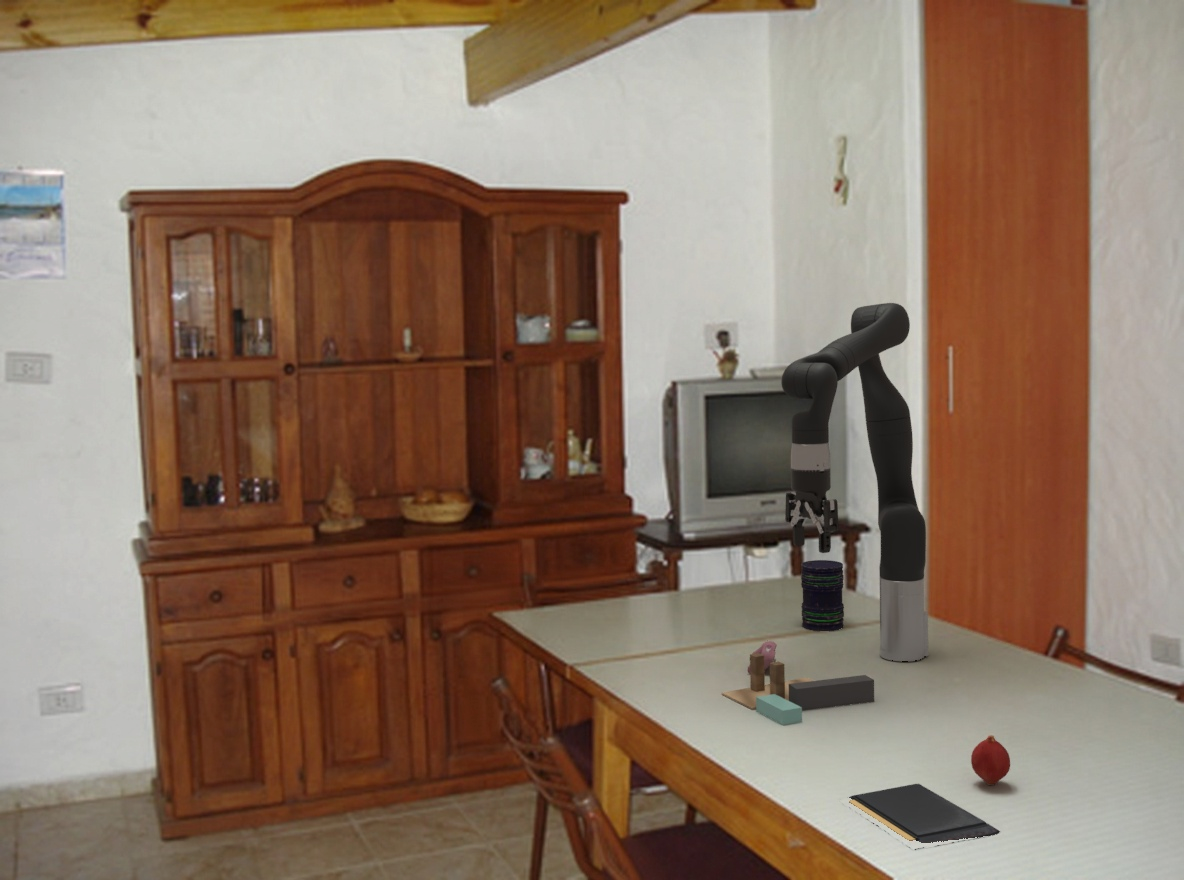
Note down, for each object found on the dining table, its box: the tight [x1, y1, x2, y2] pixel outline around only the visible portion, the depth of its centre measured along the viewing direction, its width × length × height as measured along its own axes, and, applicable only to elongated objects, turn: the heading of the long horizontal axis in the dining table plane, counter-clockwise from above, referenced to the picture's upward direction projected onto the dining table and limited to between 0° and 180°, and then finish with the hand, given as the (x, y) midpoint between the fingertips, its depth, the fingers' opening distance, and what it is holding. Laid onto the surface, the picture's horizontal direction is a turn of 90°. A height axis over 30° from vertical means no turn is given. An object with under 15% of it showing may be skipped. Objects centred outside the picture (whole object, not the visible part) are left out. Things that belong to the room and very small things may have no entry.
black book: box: [848, 783, 1001, 843], centre depth 181 cm, size 20×2×15 cm
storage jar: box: [800, 559, 845, 632], centre depth 291 cm, size 10×10×15 cm
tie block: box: [755, 694, 803, 726], centre depth 227 cm, size 4×9×3 cm, turn 24°
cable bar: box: [789, 674, 875, 712], centre depth 234 cm, size 16×4×4 cm, turn 106°
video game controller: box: [747, 640, 778, 675], centre depth 258 cm, size 10×5×7 cm, turn 170°
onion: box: [970, 734, 1011, 786], centre depth 192 cm, size 6×6×8 cm
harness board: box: [721, 653, 815, 711], centre depth 240 cm, size 20×11×7 cm, turn 115°
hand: (811, 548), depth 240 cm, fingers open, 8 cm apart
